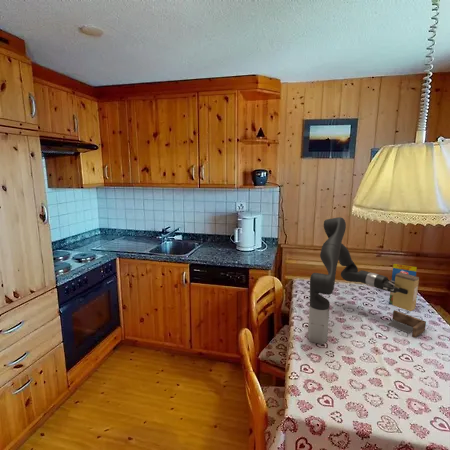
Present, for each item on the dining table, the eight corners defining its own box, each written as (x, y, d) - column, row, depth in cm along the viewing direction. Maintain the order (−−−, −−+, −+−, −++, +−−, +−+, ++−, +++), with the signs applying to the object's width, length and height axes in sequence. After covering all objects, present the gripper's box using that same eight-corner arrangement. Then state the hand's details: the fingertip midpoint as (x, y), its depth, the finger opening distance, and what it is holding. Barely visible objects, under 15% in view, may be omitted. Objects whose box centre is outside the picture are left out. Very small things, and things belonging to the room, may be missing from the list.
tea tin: (392, 305, 159) (395, 274, 155) (396, 302, 162) (400, 272, 158) (411, 311, 151) (415, 279, 148) (415, 308, 154) (419, 277, 151)
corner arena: (383, 324, 161) (384, 316, 160) (393, 318, 167) (394, 310, 166) (415, 337, 148) (416, 328, 147) (424, 330, 155) (426, 321, 154)
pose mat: (387, 324, 161) (387, 324, 161) (393, 320, 165) (393, 320, 165) (409, 333, 152) (409, 333, 152) (415, 329, 156) (415, 328, 156)
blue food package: (411, 309, 179) (416, 268, 174) (388, 304, 185) (393, 265, 180) (412, 304, 184) (417, 265, 179) (390, 300, 190) (394, 262, 185)
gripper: (370, 277, 162) (404, 287, 148) (383, 271, 170) (417, 280, 156) (369, 290, 163) (402, 301, 150) (382, 284, 171) (415, 294, 158)
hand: (409, 290), depth 153 cm, fingers closed on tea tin, 5 cm apart
